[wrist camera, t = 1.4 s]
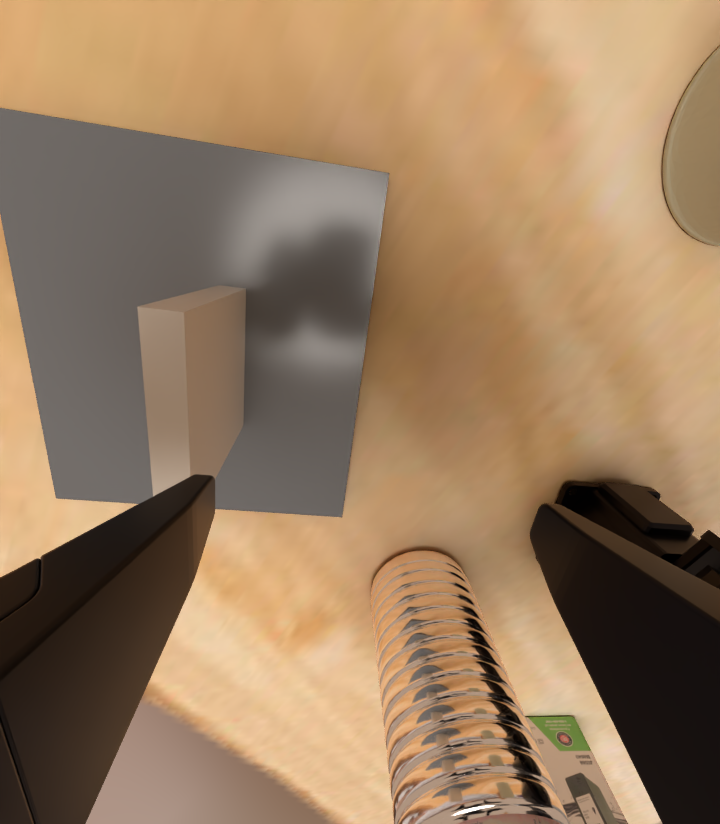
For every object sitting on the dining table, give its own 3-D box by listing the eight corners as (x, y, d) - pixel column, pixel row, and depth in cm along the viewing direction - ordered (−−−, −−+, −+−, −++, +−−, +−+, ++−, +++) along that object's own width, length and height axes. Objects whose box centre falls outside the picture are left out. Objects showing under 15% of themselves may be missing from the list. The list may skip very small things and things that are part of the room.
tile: (243, 425, 20) (192, 522, 13) (216, 422, 20) (148, 519, 13) (246, 288, 18) (184, 312, 10) (214, 284, 18) (129, 305, 10)
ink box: (574, 713, 34) (688, 929, 23) (559, 747, 36) (657, 961, 25) (482, 715, 33) (554, 939, 22) (471, 749, 35) (533, 971, 24)
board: (341, 507, 24) (342, 517, 23) (67, 488, 22) (56, 498, 21) (386, 177, 17) (389, 172, 16) (-1, 113, 16) (-21, 104, 15)
